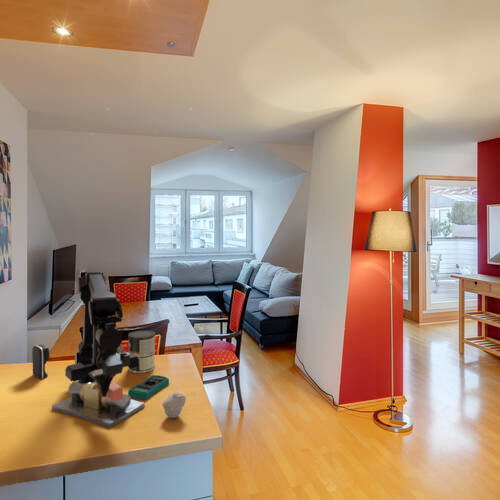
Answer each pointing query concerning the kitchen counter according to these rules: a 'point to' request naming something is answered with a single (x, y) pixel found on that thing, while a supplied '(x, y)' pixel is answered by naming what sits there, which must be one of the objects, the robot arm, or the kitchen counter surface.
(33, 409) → the kitchen counter surface
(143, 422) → the kitchen counter surface
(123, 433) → the kitchen counter surface
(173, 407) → the pale grey rock
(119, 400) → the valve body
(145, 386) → the digital multimeter
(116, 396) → the lever
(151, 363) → the coffee can
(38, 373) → the battery charger
